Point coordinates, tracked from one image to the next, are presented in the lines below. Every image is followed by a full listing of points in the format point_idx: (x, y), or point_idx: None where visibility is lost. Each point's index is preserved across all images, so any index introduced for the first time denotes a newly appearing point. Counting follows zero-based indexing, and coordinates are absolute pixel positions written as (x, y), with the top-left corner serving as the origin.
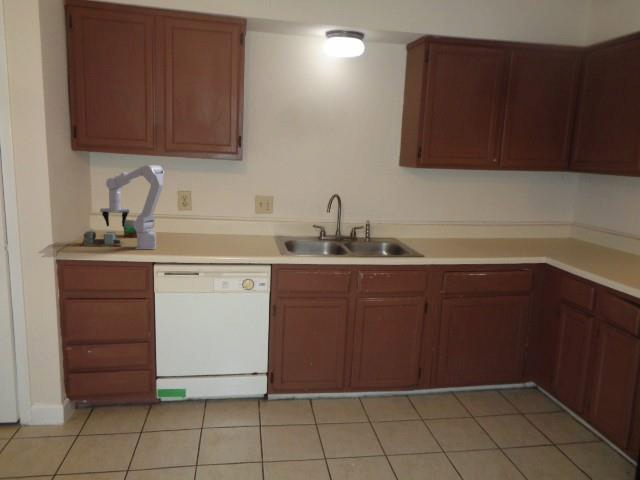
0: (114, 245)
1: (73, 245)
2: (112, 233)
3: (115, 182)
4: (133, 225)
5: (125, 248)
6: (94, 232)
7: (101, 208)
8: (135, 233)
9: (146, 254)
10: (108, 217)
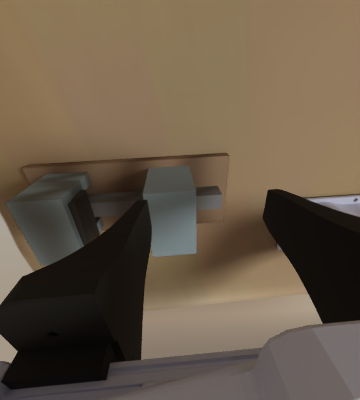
0: (197, 222)
1: None
2: (190, 237)
3: None
4: None
5: (240, 237)
6: (68, 211)
7: None
8: None
9: (301, 290)
10: (128, 245)
